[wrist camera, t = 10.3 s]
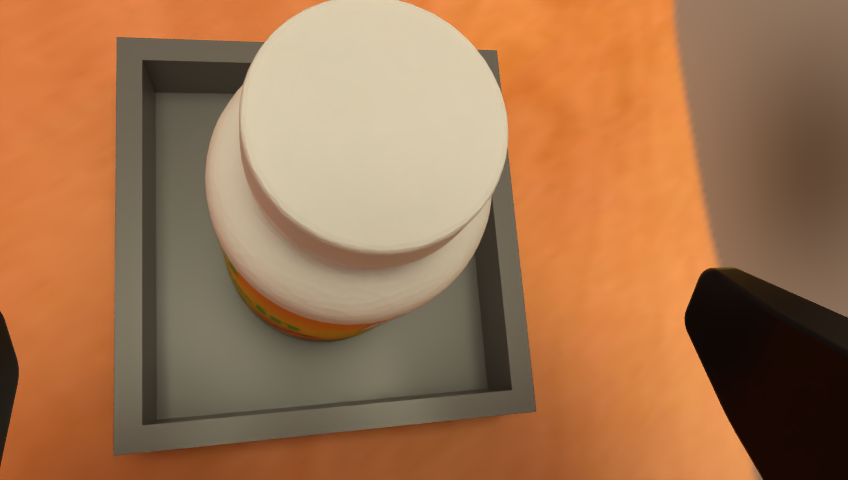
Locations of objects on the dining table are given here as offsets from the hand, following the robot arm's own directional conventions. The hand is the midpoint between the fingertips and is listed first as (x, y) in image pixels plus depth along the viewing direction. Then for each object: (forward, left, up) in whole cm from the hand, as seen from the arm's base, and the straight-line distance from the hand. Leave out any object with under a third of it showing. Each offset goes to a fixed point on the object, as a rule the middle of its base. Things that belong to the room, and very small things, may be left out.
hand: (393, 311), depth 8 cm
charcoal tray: (+3, 0, -11) cm, 11 cm away
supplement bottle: (+3, 0, -10) cm, 11 cm away
